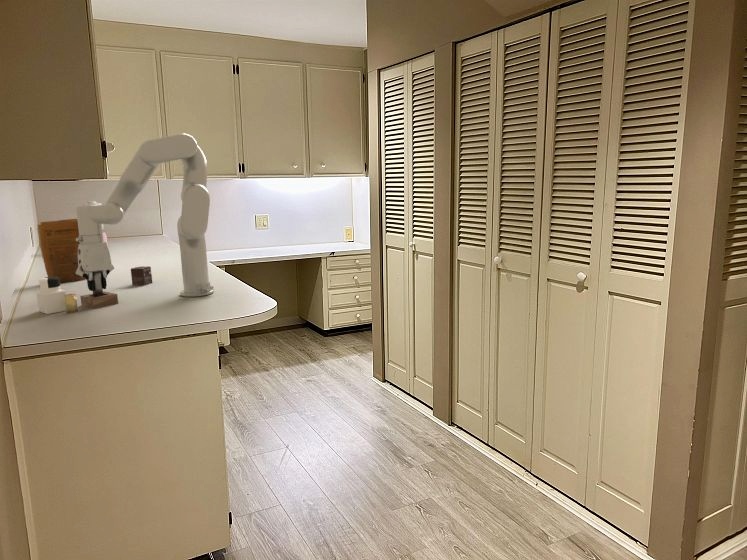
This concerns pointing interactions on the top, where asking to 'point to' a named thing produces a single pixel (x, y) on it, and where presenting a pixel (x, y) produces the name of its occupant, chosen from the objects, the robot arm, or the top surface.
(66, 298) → the short peg
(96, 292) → the long peg
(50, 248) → the pancake mix bag
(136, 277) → the box
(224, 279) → the top surface
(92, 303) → the hole block
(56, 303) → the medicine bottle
